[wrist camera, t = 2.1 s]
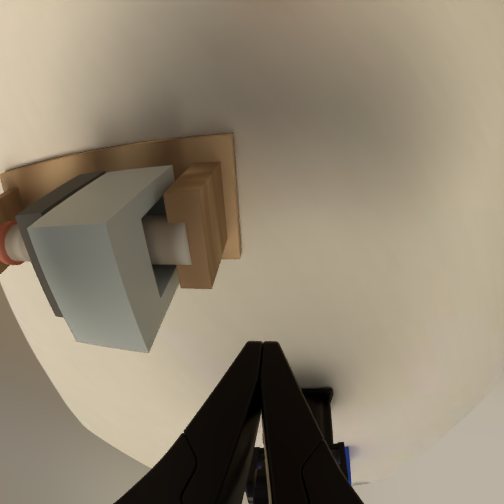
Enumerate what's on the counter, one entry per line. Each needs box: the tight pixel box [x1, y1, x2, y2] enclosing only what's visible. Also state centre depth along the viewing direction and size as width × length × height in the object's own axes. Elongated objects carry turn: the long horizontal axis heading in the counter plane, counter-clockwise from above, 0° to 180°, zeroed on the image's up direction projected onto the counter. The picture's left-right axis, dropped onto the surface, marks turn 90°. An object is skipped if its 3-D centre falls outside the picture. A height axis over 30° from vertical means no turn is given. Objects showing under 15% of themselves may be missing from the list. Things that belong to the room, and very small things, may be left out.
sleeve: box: [27, 165, 180, 353], centre depth 14 cm, size 4×6×7 cm, turn 3°
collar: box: [15, 171, 106, 317], centre depth 15 cm, size 2×6×6 cm, turn 3°
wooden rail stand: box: [0, 133, 241, 289], centre depth 17 cm, size 20×8×7 cm, turn 93°
